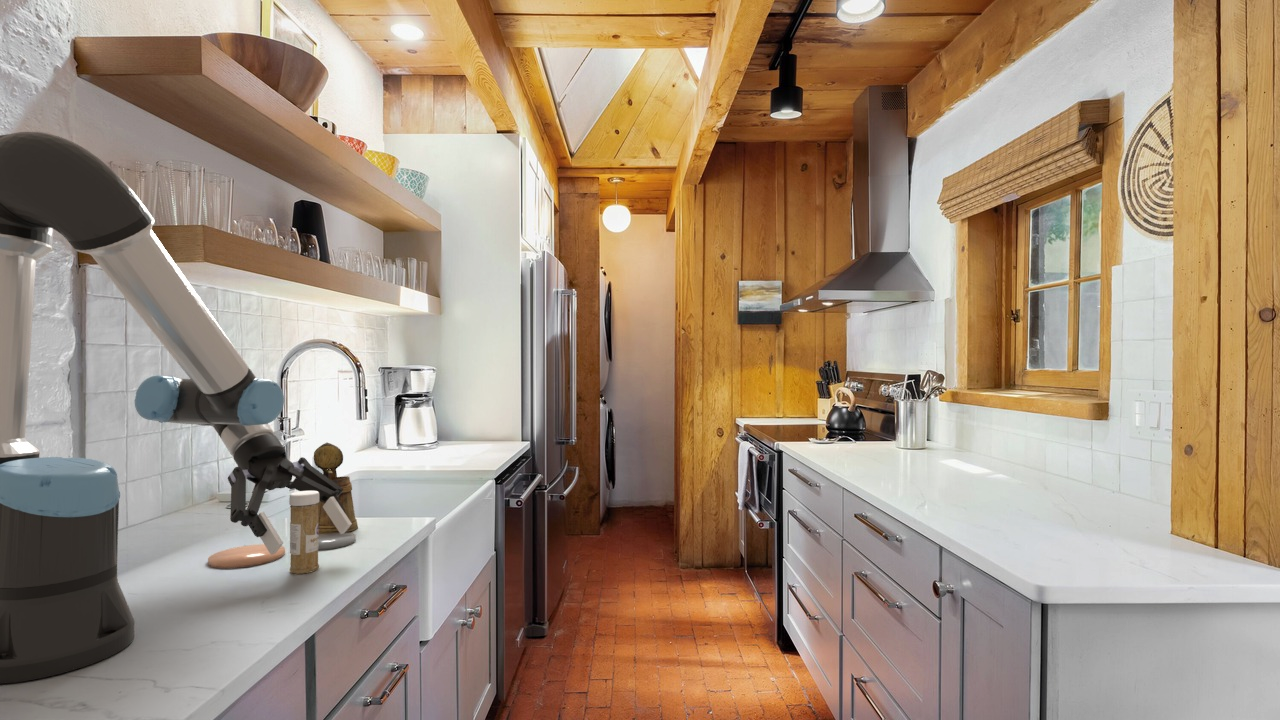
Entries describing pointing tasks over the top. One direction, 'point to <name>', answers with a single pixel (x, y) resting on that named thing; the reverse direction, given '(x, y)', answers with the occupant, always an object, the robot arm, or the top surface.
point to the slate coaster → (335, 540)
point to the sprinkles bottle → (304, 531)
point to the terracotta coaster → (244, 556)
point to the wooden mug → (332, 459)
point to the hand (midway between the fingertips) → (313, 538)
